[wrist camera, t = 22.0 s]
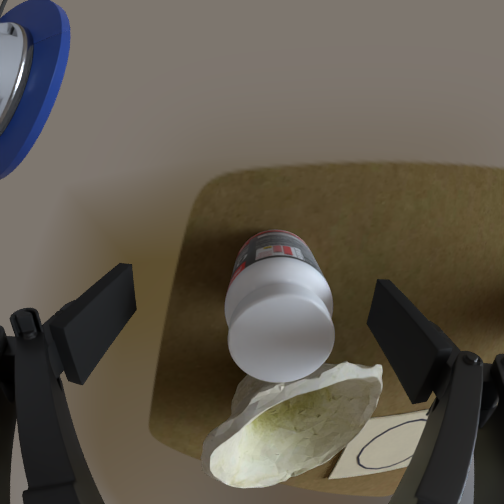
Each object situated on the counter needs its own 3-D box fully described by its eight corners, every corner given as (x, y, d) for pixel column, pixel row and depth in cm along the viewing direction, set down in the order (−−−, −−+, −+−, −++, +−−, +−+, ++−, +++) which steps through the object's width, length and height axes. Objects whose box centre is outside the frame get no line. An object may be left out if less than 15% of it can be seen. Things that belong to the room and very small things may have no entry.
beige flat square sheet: (358, 419, 26) (359, 421, 26) (464, 400, 26) (465, 402, 25) (328, 477, 30) (328, 479, 30) (422, 461, 30) (422, 462, 29)
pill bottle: (232, 230, 21) (206, 284, 11) (311, 225, 20) (351, 274, 11) (240, 303, 22) (225, 392, 13) (313, 298, 22) (342, 384, 12)
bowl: (332, 434, 27) (346, 506, 17) (207, 417, 26) (190, 495, 17) (395, 325, 22) (447, 401, 13) (236, 293, 22) (218, 381, 12)
